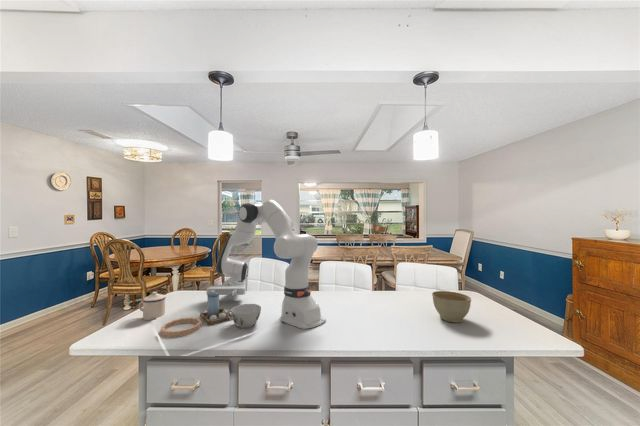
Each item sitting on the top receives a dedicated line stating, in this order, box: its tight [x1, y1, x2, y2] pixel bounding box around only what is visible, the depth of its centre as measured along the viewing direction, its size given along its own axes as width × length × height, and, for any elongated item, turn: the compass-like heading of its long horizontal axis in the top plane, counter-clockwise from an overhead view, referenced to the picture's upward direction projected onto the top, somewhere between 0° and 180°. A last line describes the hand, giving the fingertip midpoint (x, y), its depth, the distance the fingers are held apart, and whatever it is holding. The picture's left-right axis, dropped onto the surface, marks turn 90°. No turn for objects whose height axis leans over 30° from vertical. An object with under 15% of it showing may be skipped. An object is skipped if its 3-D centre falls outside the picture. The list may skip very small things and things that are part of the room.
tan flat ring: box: [160, 316, 202, 338], centre depth 103 cm, size 14×14×3 cm
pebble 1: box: [209, 315, 217, 321], centre depth 110 cm, size 3×3×3 cm
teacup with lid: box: [138, 291, 167, 321], centre depth 118 cm, size 12×9×12 cm
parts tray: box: [199, 308, 232, 326], centre depth 114 cm, size 13×11×2 cm
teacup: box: [227, 303, 262, 329], centre depth 107 cm, size 15×12×8 cm
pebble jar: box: [206, 292, 220, 319], centre depth 115 cm, size 5×5×11 cm
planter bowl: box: [431, 290, 472, 323], centre depth 116 cm, size 16×16×11 cm
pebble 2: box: [219, 313, 226, 319], centre depth 112 cm, size 3×3×3 cm
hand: (222, 294), depth 128 cm, fingers open, 8 cm apart
